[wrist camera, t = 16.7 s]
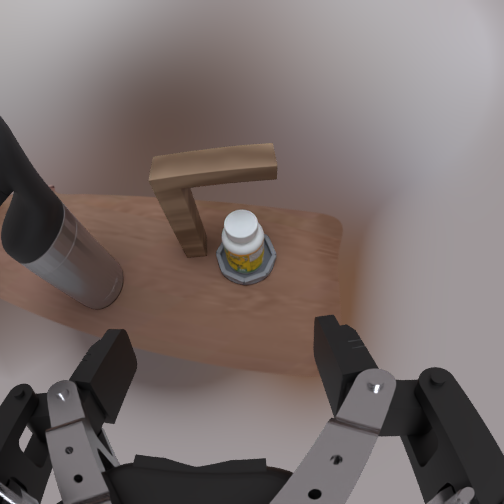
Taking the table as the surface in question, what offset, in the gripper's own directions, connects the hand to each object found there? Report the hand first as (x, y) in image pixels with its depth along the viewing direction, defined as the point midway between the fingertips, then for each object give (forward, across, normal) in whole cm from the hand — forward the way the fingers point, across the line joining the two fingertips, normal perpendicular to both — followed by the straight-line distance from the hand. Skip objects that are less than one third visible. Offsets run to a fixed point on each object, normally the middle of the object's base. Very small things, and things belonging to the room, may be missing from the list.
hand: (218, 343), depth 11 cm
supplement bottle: (+30, -1, +7) cm, 31 cm away
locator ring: (+30, -1, +7) cm, 31 cm away
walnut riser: (+32, +1, +5) cm, 33 cm away
